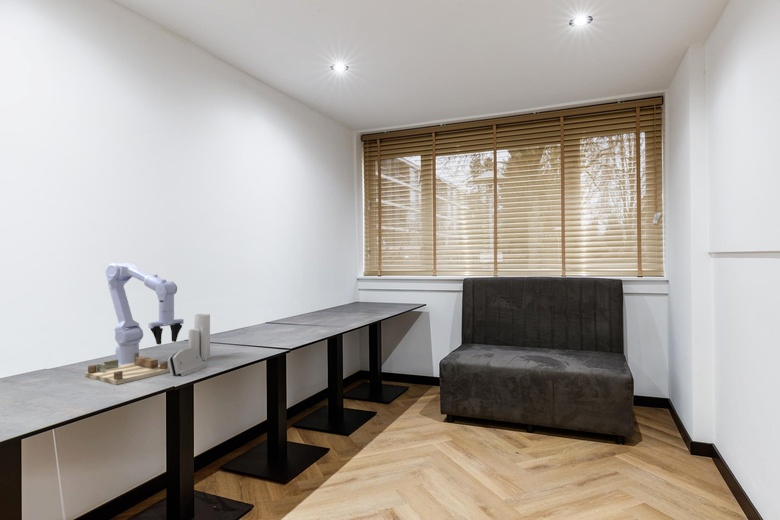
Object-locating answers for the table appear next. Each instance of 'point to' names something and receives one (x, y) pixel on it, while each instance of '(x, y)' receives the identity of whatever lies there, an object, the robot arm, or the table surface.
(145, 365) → the folding leg
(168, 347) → the table surface
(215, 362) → the table surface
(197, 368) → the grey rounded block
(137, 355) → the board
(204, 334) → the vase
